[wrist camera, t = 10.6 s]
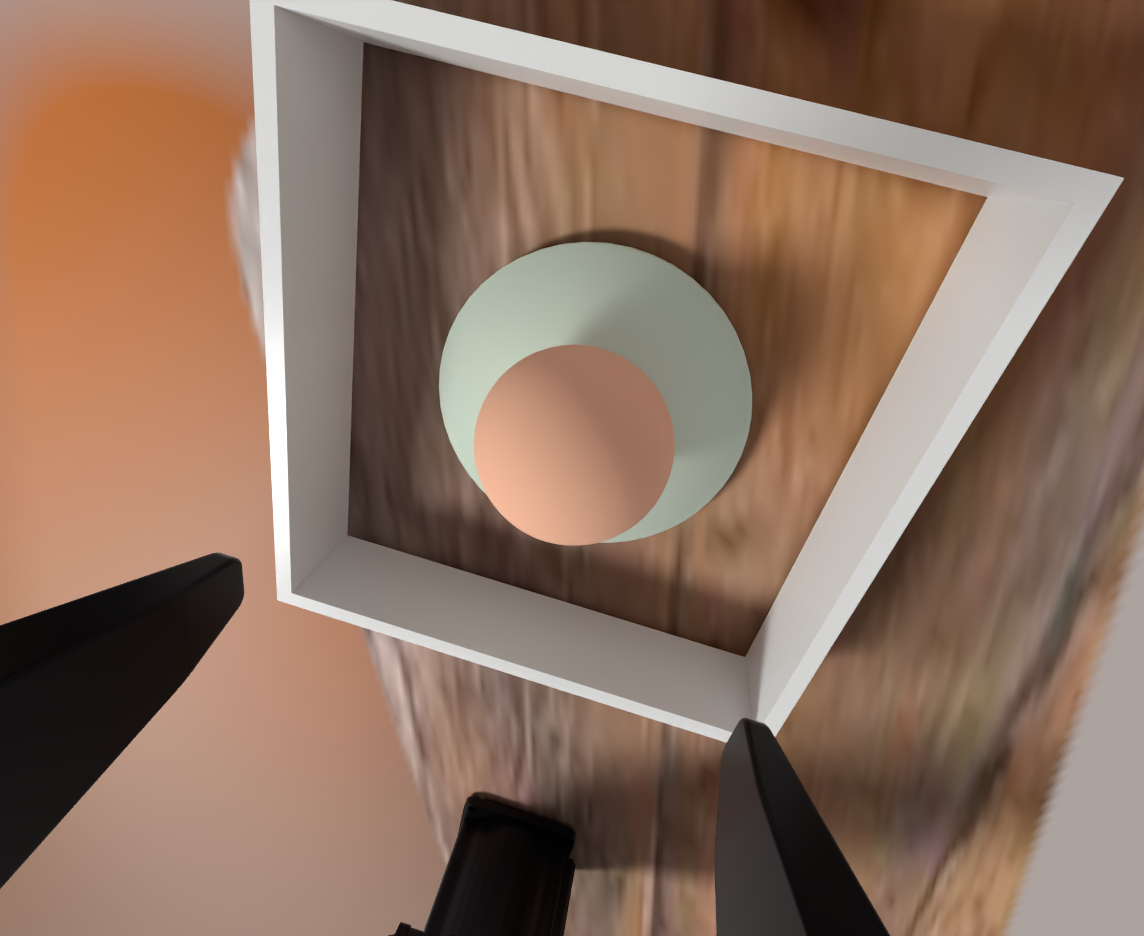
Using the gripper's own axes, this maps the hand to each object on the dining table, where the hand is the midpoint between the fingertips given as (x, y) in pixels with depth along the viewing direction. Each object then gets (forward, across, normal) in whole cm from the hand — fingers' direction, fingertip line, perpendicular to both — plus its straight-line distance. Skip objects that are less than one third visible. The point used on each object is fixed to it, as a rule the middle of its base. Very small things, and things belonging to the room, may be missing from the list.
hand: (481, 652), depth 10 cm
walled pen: (+12, 0, 0) cm, 12 cm away
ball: (+12, 0, 0) cm, 12 cm away
